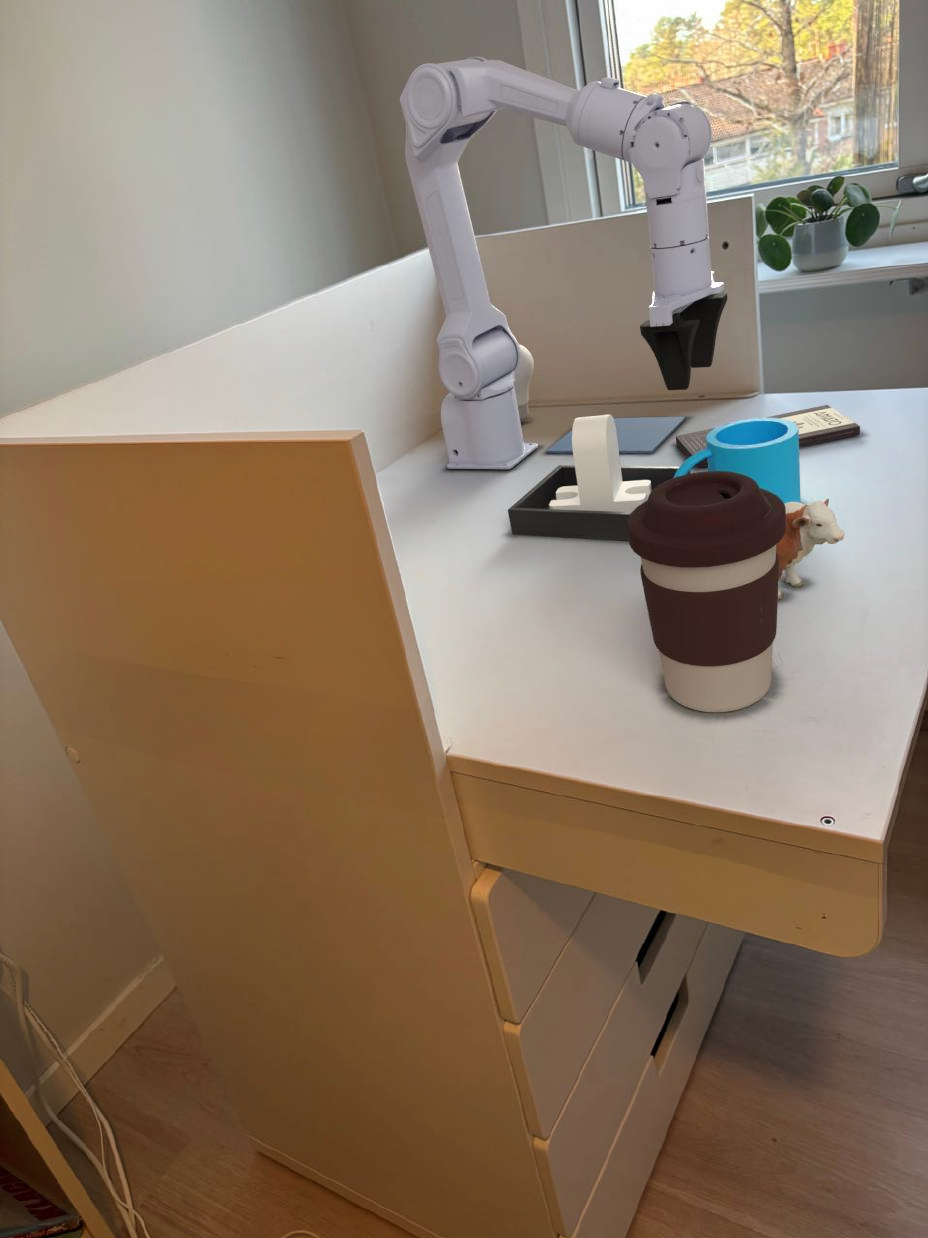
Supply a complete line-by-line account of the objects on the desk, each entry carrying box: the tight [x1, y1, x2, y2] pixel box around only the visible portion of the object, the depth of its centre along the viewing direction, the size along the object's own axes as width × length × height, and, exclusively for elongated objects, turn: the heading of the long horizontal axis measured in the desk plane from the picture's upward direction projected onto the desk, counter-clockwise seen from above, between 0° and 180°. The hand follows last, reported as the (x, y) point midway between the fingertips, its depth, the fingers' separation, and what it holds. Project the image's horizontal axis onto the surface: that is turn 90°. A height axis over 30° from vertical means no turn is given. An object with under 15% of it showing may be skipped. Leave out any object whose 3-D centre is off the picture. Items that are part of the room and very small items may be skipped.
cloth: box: [545, 416, 687, 454], centre depth 117 cm, size 14×12×1 cm
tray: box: [507, 464, 692, 542], centre depth 96 cm, size 15×12×3 cm
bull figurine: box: [776, 498, 845, 601], centre depth 74 cm, size 4×13×8 cm, turn 63°
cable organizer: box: [549, 414, 652, 512], centre depth 94 cm, size 5×10×10 cm, turn 72°
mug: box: [673, 417, 802, 504], centre depth 87 cm, size 12×8×8 cm
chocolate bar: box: [675, 404, 861, 469], centre depth 106 cm, size 9×1×18 cm
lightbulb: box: [514, 343, 535, 423], centre depth 128 cm, size 6×6×11 cm
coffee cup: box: [627, 471, 786, 713], centre depth 62 cm, size 10×10×15 cm
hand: (690, 377), depth 98 cm, fingers open, 7 cm apart
